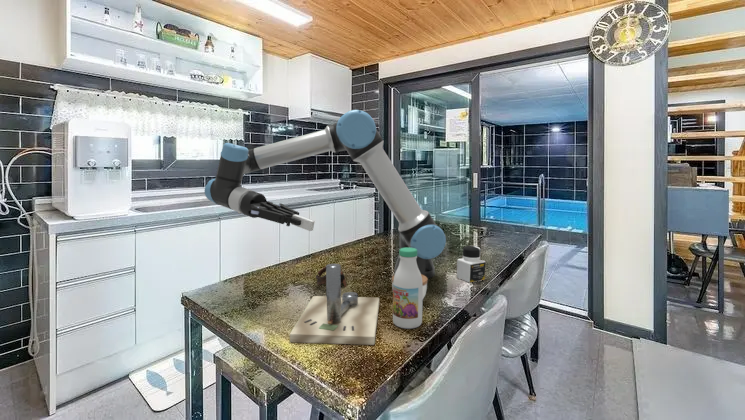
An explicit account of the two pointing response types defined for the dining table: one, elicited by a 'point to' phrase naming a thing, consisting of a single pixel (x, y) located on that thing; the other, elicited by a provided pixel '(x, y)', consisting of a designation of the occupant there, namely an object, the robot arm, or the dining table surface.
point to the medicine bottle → (471, 265)
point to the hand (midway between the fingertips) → (312, 226)
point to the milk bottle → (407, 291)
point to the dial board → (338, 323)
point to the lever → (337, 294)
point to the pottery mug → (323, 279)
